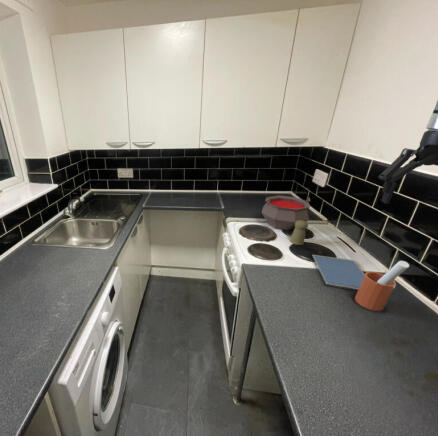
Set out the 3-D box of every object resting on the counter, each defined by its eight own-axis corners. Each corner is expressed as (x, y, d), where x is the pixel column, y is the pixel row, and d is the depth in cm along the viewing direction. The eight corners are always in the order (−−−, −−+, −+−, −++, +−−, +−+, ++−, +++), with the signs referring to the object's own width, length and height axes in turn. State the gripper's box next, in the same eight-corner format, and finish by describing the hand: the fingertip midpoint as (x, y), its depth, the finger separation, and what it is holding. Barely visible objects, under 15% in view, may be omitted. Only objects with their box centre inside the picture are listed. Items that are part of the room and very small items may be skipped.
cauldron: (294, 216, 139) (300, 190, 132) (316, 235, 117) (325, 205, 111) (253, 215, 142) (257, 190, 135) (267, 234, 120) (273, 205, 113)
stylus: (369, 295, 77) (407, 261, 63) (371, 301, 76) (410, 268, 62) (361, 293, 78) (397, 259, 64) (362, 299, 77) (400, 266, 62)
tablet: (353, 262, 96) (354, 260, 95) (377, 294, 79) (378, 292, 78) (311, 256, 101) (312, 254, 100) (325, 285, 84) (326, 283, 83)
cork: (304, 240, 113) (309, 220, 108) (304, 246, 108) (309, 225, 104) (289, 237, 116) (294, 217, 111) (289, 243, 111) (294, 222, 107)
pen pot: (376, 298, 77) (388, 274, 73) (387, 313, 71) (401, 288, 67) (351, 293, 80) (361, 269, 76) (360, 308, 74) (371, 283, 70)
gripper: (395, 132, 63) (368, 205, 71) (529, 129, 55) (481, 211, 63) (380, 130, 69) (357, 197, 78) (498, 127, 61) (458, 202, 70)
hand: (412, 204), depth 70 cm, fingers open, 13 cm apart
